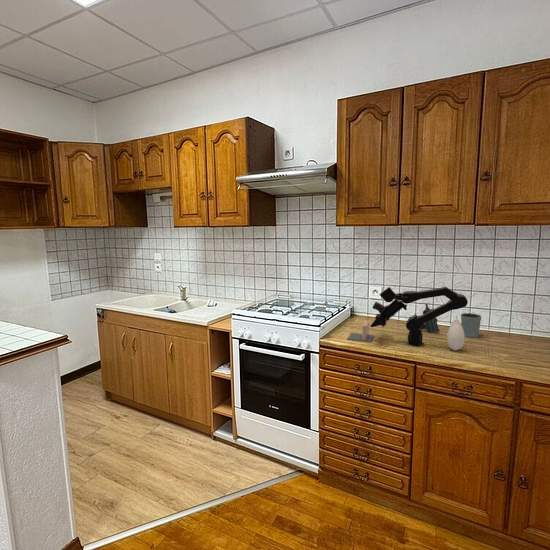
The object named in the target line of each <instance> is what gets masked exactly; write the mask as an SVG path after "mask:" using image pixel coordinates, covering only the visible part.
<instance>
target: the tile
mask: <svg viewBox="0 0 550 550" xmlns="http://www.w3.org/2000/svg"><path fill="white" fill-rule="evenodd" d="M361 331H362V333H361V334H362V340H367V338H368V336H369V335H370V321H368V320H367V321H366V320H365V322H364V323H363V325H362V330H361Z"/></svg>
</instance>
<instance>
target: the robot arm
mask: <svg viewBox="0 0 550 550" xmlns="http://www.w3.org/2000/svg"><path fill="white" fill-rule="evenodd" d="M379 296H380V297H381V298H382V300H384V301H385V303H390V304H387V305H383V304H382V303H380V302H378V301H374V303H373V306H372V307H371V308H372V309H373V310H376V311H377V312H378V313H376V315H375V317H374V320H373V322H372V323H371V324H370V328H374V327H379V326H382V327H383V328H384V327H385V326H387V321H389V320H390V319H391V318H392V317H394V316H395V315H396V314H397V313H398V312H400V311H401V310H402V309H403V310H405V311H407V310H408V309H407V307H408V304H411V303H414V302H416V301H418V300H419V301H420V300H424V299H431V298H437V297H441V296H442V297H445V298H447V299H449V300H448V301H447V302H445V303H443V304H442V305H440V306H437V307H436V308H432V309H433V310H431V311H429V312H427V313H425V314H423V313H422V314H421V315H417V313H414V314H413V315H412V316H408V318H407V320H406V324H405V327H406V329H407V330H408V334H407V342H406V344H408V345H410V346H414V347H420V346H423V345H425V343H424V342H423V337H424V335H423V334H424V333H423V332H422V331H423V329H422V327H421V326H422V325H423V324H425V323H426V322H428V321H430V320H432V319H434V318H438V317H440V316H442V315H444V314H446V313H448V312H451V311H454V310H455V311H456V310H459V309H463V308H465V307H466V306H468V303H469V302H468V299H467V297H466V295H464V294H462V293H457V292H455V291H454V290H452V289H451V288H449V287H448V286H442V287H439V288H437V287H436V288H431V289H427V290H420V291H417V290H416V291H415V290H405V291H403V292H401V293H400V292H399V293H395V292H394V291H393V290H392V288H391V287H390V286H388V287H387V288H386V289H384V290H383V291H381V293H379Z"/></svg>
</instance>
